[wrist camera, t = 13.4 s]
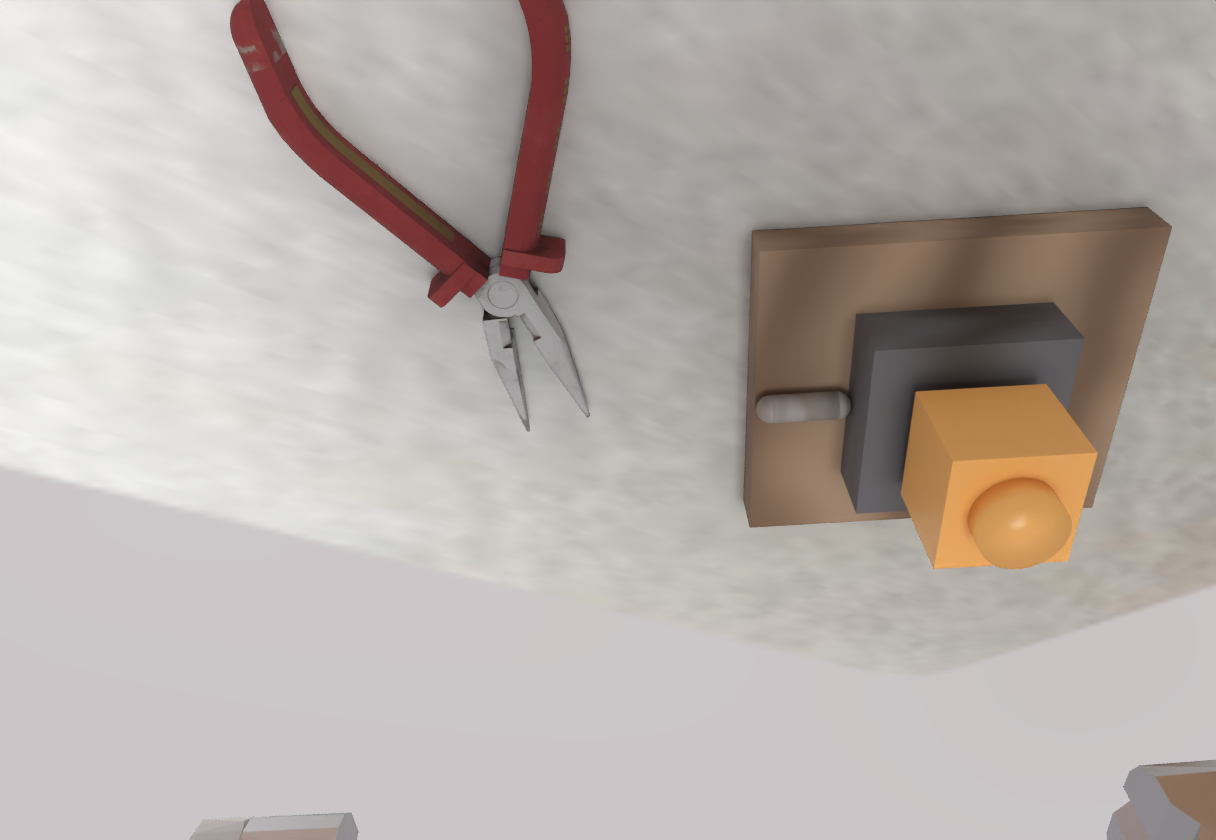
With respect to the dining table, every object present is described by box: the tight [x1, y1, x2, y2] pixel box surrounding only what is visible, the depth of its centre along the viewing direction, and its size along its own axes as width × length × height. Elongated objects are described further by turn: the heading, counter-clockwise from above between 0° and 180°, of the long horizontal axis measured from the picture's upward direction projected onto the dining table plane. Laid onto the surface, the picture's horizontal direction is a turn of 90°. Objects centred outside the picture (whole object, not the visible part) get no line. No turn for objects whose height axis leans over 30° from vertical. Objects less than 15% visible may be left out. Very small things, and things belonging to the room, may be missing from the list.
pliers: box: [230, 0, 590, 432], centre depth 39 cm, size 12×20×3 cm, turn 17°
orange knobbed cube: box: [901, 384, 1098, 569], centre depth 37 cm, size 5×5×6 cm
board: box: [744, 207, 1172, 527], centre depth 40 cm, size 16×14×10 cm
